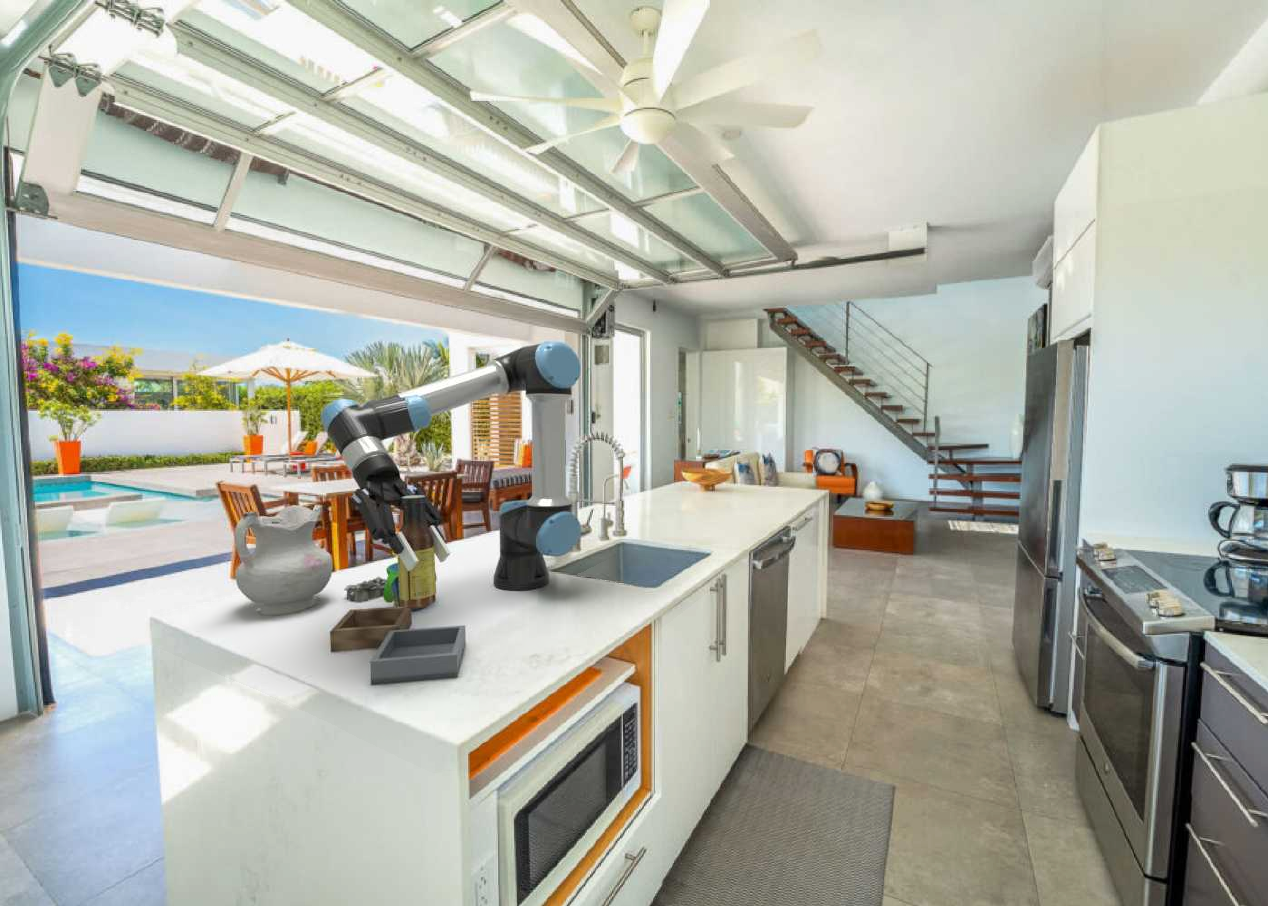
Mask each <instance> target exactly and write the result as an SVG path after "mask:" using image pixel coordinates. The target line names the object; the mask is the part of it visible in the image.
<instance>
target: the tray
mask: <svg viewBox="0 0 1268 906" xmlns="http://www.w3.org/2000/svg"><path fill="white" fill-rule="evenodd" d="M466 638H467V637H466V624H464V625H463V624H462V625H454V626H453V625H450V626H449V625H448V626H437V627H435V626H433V627H421V628H409V629H405V630H391V631H390V632H389V633H388V635H387V636H386V638H385V639H384V641H383V643H382V644H381V646H380V647H379V648H377V650H376V652H375V654H374V655H373V656H372V658H371V660H370V664H369V665H370V685H371V686H372V685H374V686H375V685H383V684H384V685H386V684H397V683H406V682H418V681H428V680H429V681H431V680H440V679H441V680H443V679H452V678H453V679H455V678H459V677H458V676H459V672H460V669H461V665H462V661H463V657H464V653H465V648H466V644H467V642H466V640H467V639H466Z"/></svg>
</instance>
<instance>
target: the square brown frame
mask: <svg viewBox="0 0 1268 906" xmlns="http://www.w3.org/2000/svg"><path fill="white" fill-rule="evenodd" d="M412 614H413V613H412V611H411V609H410V608H405V607H402V606H401V607H395V606H388V607H372V608H371V607H370V608H369V607H368V608H356V609H350V610H348V611H347V612H346V614H345V615H344V616H342V618H341V619H340V620H339V621H338V622H337V623H336V624H335V626H334V627H333V628H332V629H330V631H329V632H330V633H329V635H330V652H344V651H346V652H347V651H358V650H368V649H370V650H371V649H379V647H380V646H381V644H382V643H383V641H384V639H385V638H386V636H387V635H388V633H389V632H390V631H391V630H405V629H411V626H412V622H413V620H412V618H413V617H412Z"/></svg>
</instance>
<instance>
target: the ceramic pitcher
mask: <svg viewBox="0 0 1268 906" xmlns="http://www.w3.org/2000/svg"><path fill="white" fill-rule="evenodd" d="M322 512H323V505H322V504H316V503H314V507H313V509H311V508H308V507H307V506H300V505H297V504H296V505H295V504H293V505H290V506H286V507H283V508H281V510H279V512H277V514H276V515H275V516H264V515H261V516H259V514H258V512H257V510H251V511H250V510H249V511H246V512H244V513H243V514H241V516H242V517H241V518H240V519H239V521H238V523H237V524H236V527H235V529H234V532H233V533H234V538H233V539H234V546H235V548H236V552H237V554H238V557H239V559H240V561H241V563H239V565H238V566H237V568H236V570H235V573H234V574H235V583H236V585H237V588H238V590H239V591H240V592H241V593H242V594H243V595H244V596H245V597H246V598H247V599H249V600H250V601H251V602H253V603H255V604H261V606H259V607H260V608H259V610H258V611H257V612H258V614H259V615H265V616H267V615H268V616H274V617H275V616H280V615H286V614H294V613H295V614H296V613H300V612H301V611H304V610H306V609H308V608H311V607H312V606H314V605H317V604H319V602H320V601H319V600H320V599H319V598H315V595H318V594H319V593H321V592H322V591H324V589H325V588H326V587H327V585H328V584H329V581H330V580H331V578H332V574H333V567H334V566H333V565H334V564H333V557H332V555H331V554H330V553H329V552H328V551H325V550H324V549H322V548H321V547H320V546H318V545H316V544H315V543H314V540H313V533H314V532H313V531H314V529H315V527H316V524H317V520H318V518H319V516H320V514H321V513H322ZM249 528H250V530H251V532H252V533H253V535H254V537H255V541H256V543H255V549H254V550H253V552H252V553H251V552H250V549H249V548H248V546H247V545H248V544H247V532H248V530H249Z"/></svg>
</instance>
